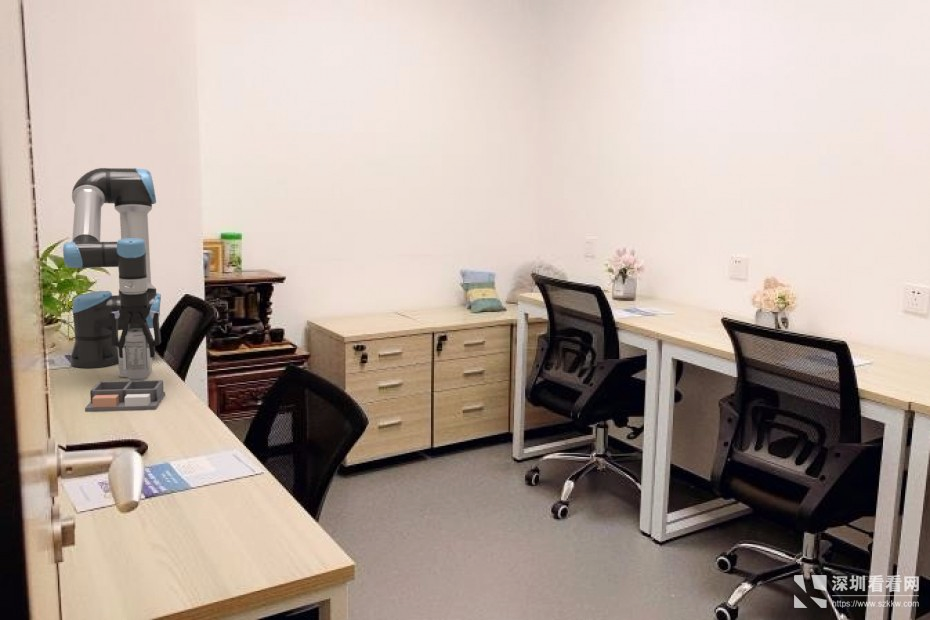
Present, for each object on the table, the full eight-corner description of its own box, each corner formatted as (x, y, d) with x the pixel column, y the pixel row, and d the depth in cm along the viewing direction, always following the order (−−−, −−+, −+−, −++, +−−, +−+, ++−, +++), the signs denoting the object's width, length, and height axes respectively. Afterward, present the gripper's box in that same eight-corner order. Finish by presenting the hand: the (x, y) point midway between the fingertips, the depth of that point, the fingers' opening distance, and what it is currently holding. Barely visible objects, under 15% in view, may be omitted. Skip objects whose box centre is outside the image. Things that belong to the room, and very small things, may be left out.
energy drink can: (153, 376, 232) (150, 328, 228) (143, 382, 226) (140, 333, 223) (134, 375, 232) (131, 327, 229) (123, 381, 226) (120, 332, 223)
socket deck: (98, 396, 219) (97, 381, 218) (165, 395, 222) (164, 380, 222) (85, 411, 207) (84, 395, 206) (155, 409, 210) (154, 393, 209)
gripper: (95, 294, 218) (100, 372, 223) (165, 294, 222) (169, 371, 226) (102, 289, 225) (107, 364, 230) (170, 289, 229) (174, 363, 234)
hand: (138, 367), depth 228 cm, fingers closed on energy drink can, 6 cm apart
